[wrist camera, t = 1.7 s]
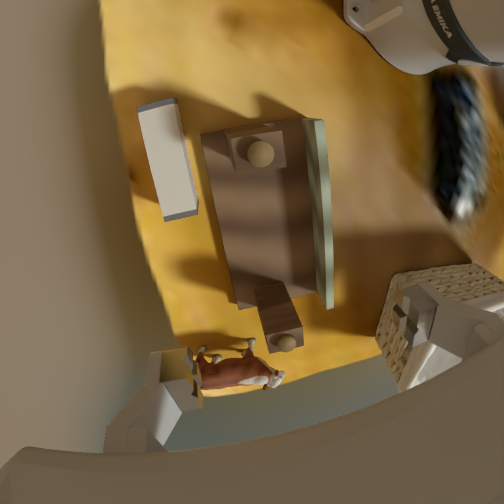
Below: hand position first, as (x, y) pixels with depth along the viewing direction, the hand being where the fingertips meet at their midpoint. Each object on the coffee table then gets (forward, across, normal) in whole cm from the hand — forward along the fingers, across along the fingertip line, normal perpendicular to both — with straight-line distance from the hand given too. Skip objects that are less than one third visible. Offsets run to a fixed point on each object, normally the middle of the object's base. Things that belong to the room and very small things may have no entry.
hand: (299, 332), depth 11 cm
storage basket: (+26, -30, +27) cm, 48 cm away
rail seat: (+26, -3, +6) cm, 26 cm away
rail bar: (+26, +6, -4) cm, 27 cm away
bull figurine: (+26, +5, +26) cm, 37 cm away
